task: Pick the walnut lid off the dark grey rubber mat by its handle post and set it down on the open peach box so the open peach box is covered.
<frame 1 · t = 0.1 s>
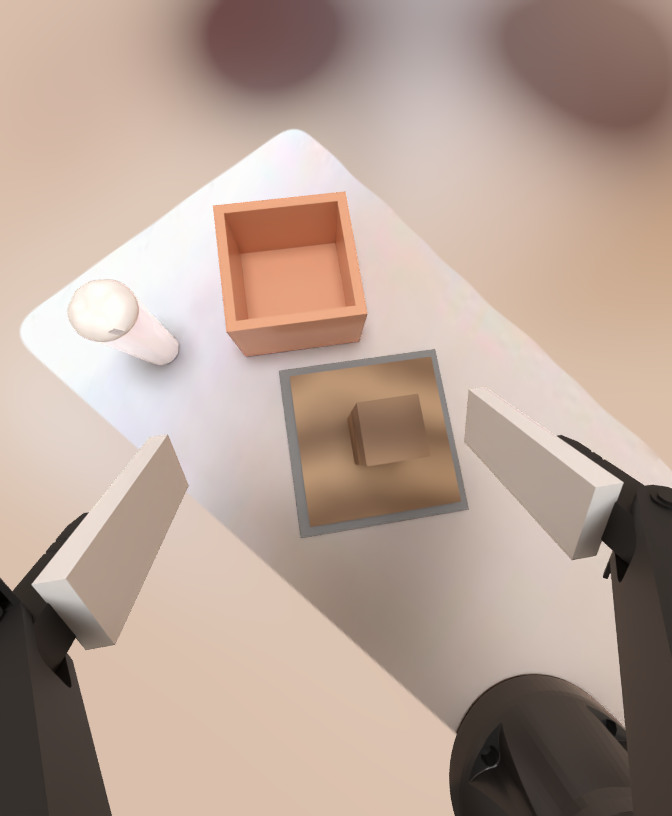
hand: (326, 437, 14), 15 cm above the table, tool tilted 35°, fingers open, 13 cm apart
mat: (370, 438, 29), on the table
milkshake: (165, 353, 30), on the table
open peach box: (295, 296, 31), on the table
lid: (371, 438, 29), point 1 cm above the table, touching mat
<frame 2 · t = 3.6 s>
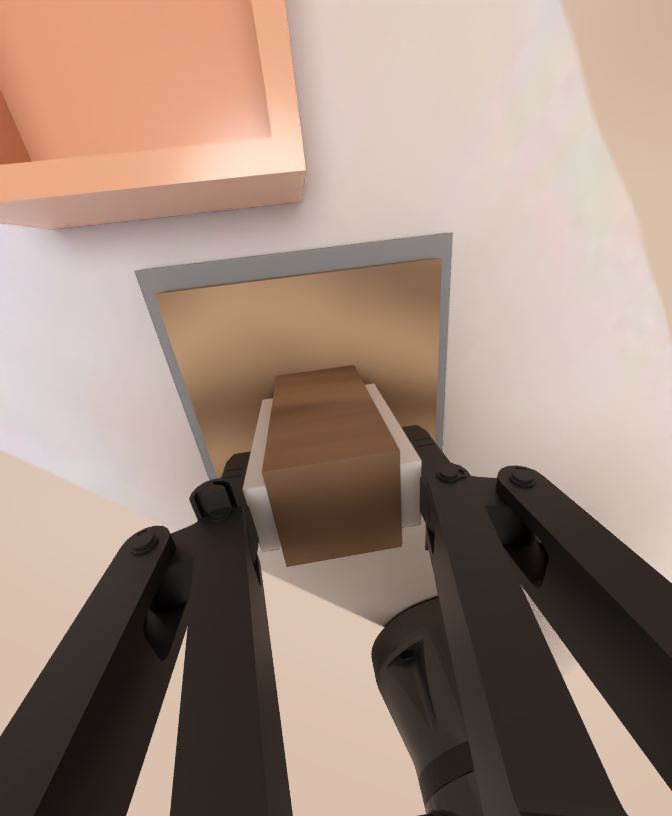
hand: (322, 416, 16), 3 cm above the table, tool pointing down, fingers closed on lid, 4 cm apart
mat: (318, 392, 19), on the table
open peach box: (131, 43, 12), on the table
lid: (319, 396, 18), point 1 cm above the table, touching gripper, mat
when the fingers open (10 cm above the table, at t = 8.4 s): lid drops 2 cm, resting on open peach box.
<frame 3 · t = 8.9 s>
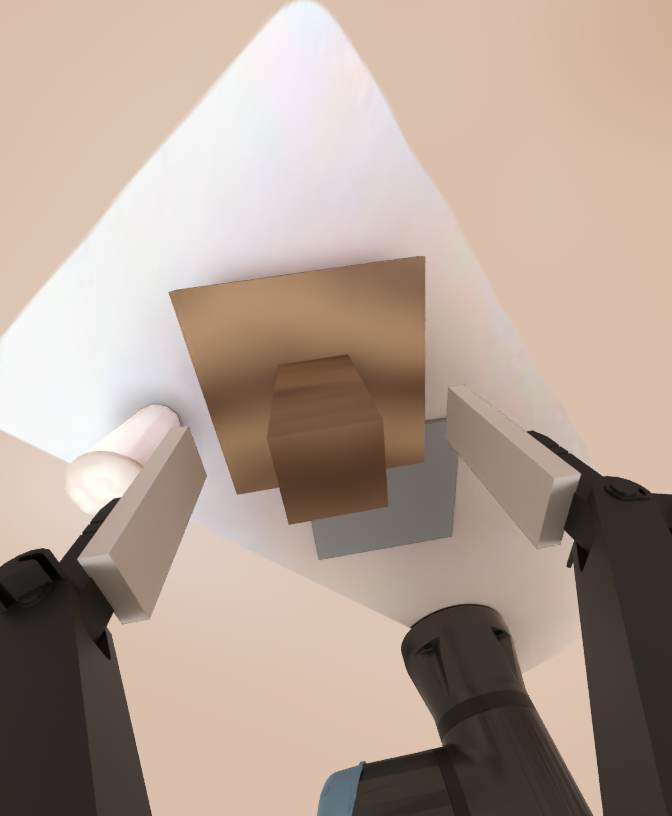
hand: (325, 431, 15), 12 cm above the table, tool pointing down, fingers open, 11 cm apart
mat: (381, 491, 32), on the table
milkshake: (164, 423, 26), on the table
lid: (317, 384, 20), point 6 cm above the table, touching open peach box
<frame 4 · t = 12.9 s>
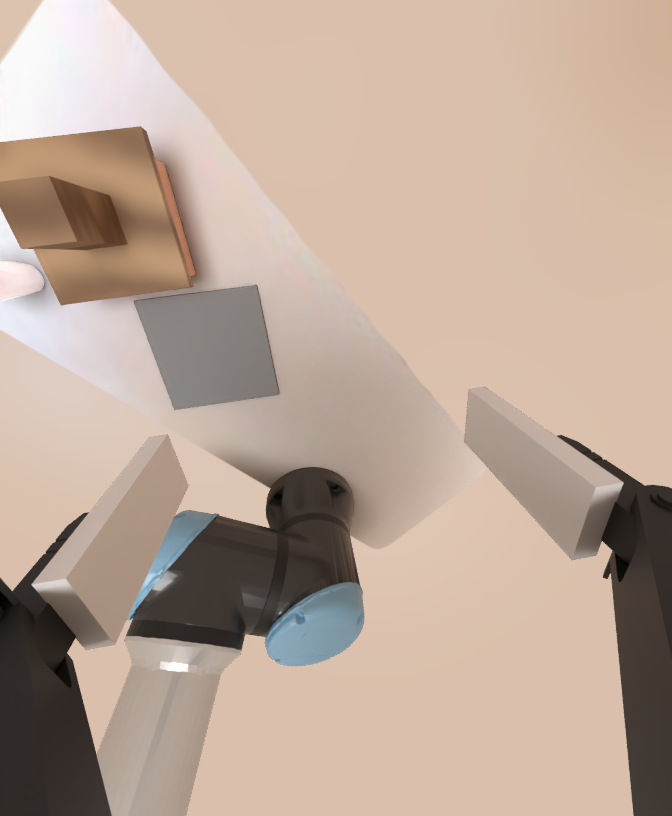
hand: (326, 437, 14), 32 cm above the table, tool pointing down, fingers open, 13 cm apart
mat: (213, 350, 43), on the table
milkshake: (33, 280, 37), on the table
open peach box: (132, 229, 36), on the table
lid: (104, 224, 31), point 6 cm above the table, touching open peach box
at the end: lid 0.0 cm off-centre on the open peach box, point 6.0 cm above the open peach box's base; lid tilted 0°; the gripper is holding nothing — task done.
